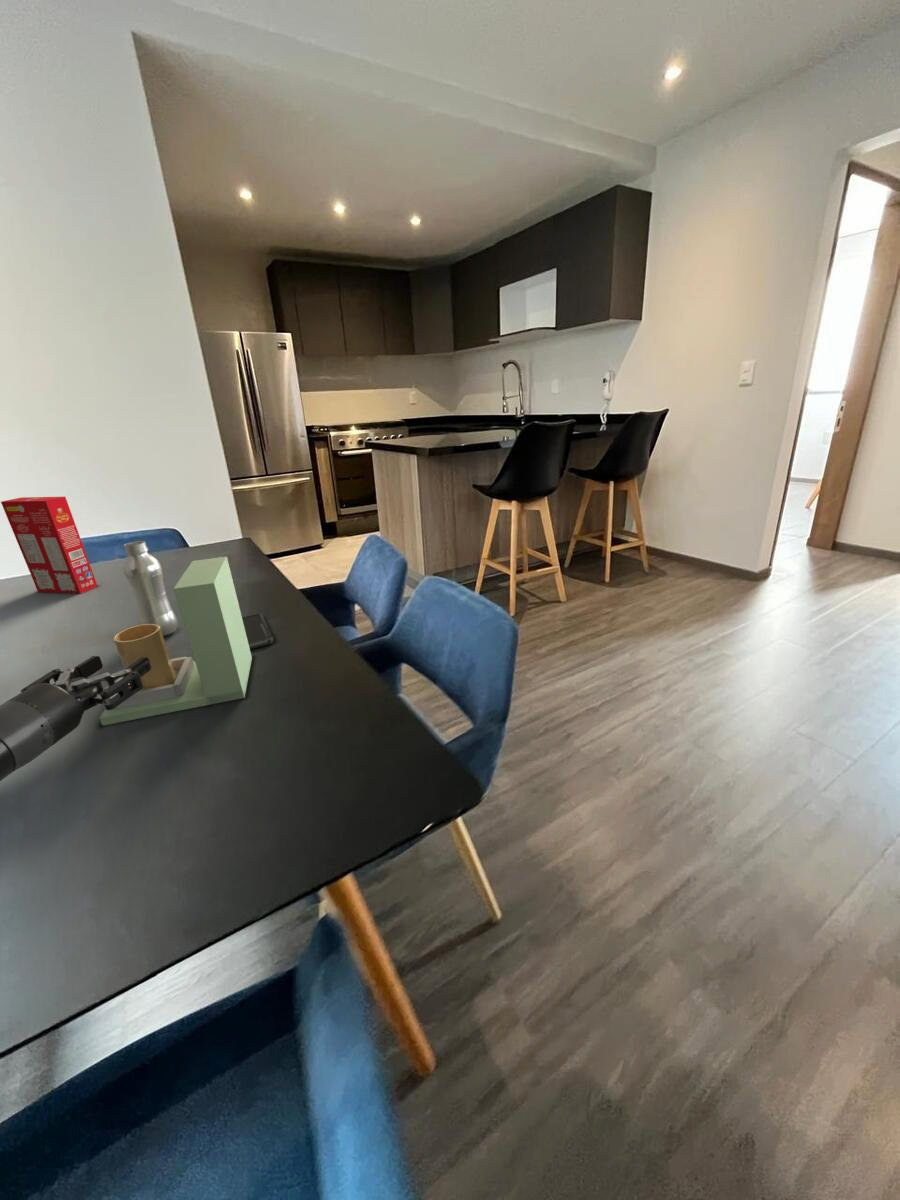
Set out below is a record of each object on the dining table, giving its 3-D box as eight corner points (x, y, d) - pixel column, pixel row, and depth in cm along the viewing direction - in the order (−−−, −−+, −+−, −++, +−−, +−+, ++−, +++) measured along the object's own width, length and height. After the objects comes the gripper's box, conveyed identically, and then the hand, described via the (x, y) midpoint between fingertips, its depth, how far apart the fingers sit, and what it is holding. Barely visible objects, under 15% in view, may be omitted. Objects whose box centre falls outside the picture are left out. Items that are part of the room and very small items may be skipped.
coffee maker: (102, 726, 75) (53, 605, 67) (130, 679, 87) (92, 574, 79) (244, 698, 79) (214, 582, 72) (252, 658, 92) (226, 556, 84)
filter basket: (127, 700, 78) (107, 645, 74) (140, 680, 84) (121, 627, 80) (171, 692, 79) (153, 637, 76) (180, 673, 85) (164, 621, 81)
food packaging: (97, 586, 136) (65, 496, 127) (80, 593, 132) (45, 500, 122) (56, 585, 140) (21, 497, 130) (38, 592, 135) (0, 501, 126)
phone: (231, 649, 93) (223, 621, 105) (232, 654, 94) (224, 626, 106) (273, 638, 96) (261, 612, 109) (275, 643, 97) (262, 617, 109)
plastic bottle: (139, 637, 104) (108, 546, 96) (171, 624, 109) (144, 537, 101) (154, 644, 100) (123, 550, 92) (186, 631, 105) (159, 540, 97)
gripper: (62, 704, 58) (157, 640, 73) (-37, 700, 60) (74, 639, 75) (84, 755, 61) (171, 684, 76) (-12, 749, 63) (91, 681, 78)
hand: (123, 661), depth 75 cm, fingers open, 8 cm apart
